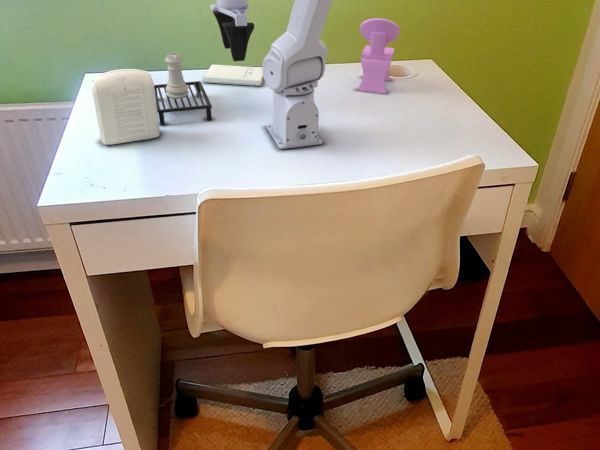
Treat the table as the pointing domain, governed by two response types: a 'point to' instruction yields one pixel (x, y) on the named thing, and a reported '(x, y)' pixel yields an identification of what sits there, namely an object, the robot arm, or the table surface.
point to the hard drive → (234, 75)
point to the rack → (198, 88)
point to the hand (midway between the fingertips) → (234, 54)
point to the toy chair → (377, 53)
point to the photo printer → (125, 106)
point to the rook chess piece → (175, 77)
